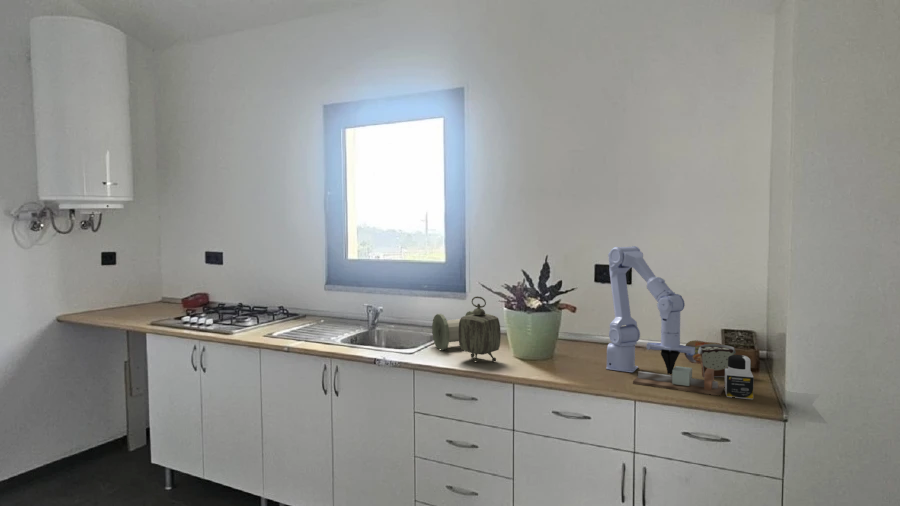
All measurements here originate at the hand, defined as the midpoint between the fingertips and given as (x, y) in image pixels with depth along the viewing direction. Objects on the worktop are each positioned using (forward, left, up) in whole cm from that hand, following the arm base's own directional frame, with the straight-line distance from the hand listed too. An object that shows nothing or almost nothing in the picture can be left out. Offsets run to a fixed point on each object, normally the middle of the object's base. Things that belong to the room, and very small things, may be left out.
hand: (670, 373), depth 178 cm
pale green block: (+4, 0, -2) cm, 4 cm away
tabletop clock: (-69, -5, -4) cm, 69 cm away
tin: (+6, +33, -4) cm, 34 cm away
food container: (+10, +19, -4) cm, 22 cm away
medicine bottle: (+20, -1, -4) cm, 20 cm away
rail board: (+2, 0, -4) cm, 4 cm away
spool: (-88, +10, -4) cm, 88 cm away
